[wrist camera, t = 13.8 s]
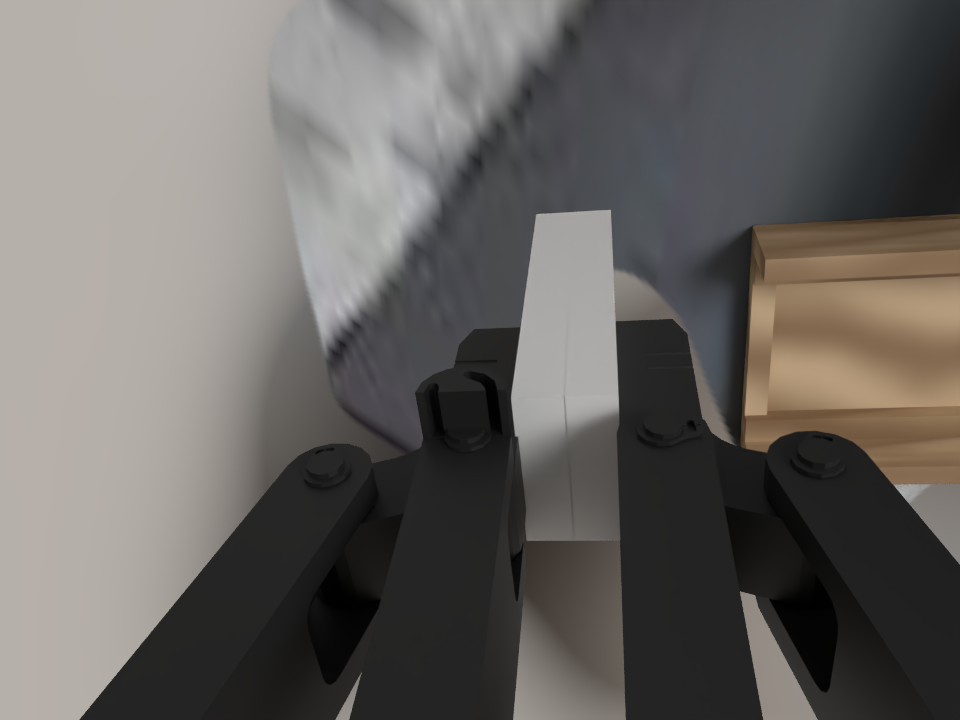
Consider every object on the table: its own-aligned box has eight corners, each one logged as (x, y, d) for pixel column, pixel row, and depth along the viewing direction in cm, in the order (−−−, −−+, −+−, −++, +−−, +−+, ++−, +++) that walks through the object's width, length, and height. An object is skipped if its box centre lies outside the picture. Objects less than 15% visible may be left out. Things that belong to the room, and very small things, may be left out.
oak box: (752, 225, 45) (765, 259, 42) (1093, 206, 42) (1136, 240, 39) (740, 442, 52) (750, 486, 49) (1030, 436, 50) (1061, 482, 46)
